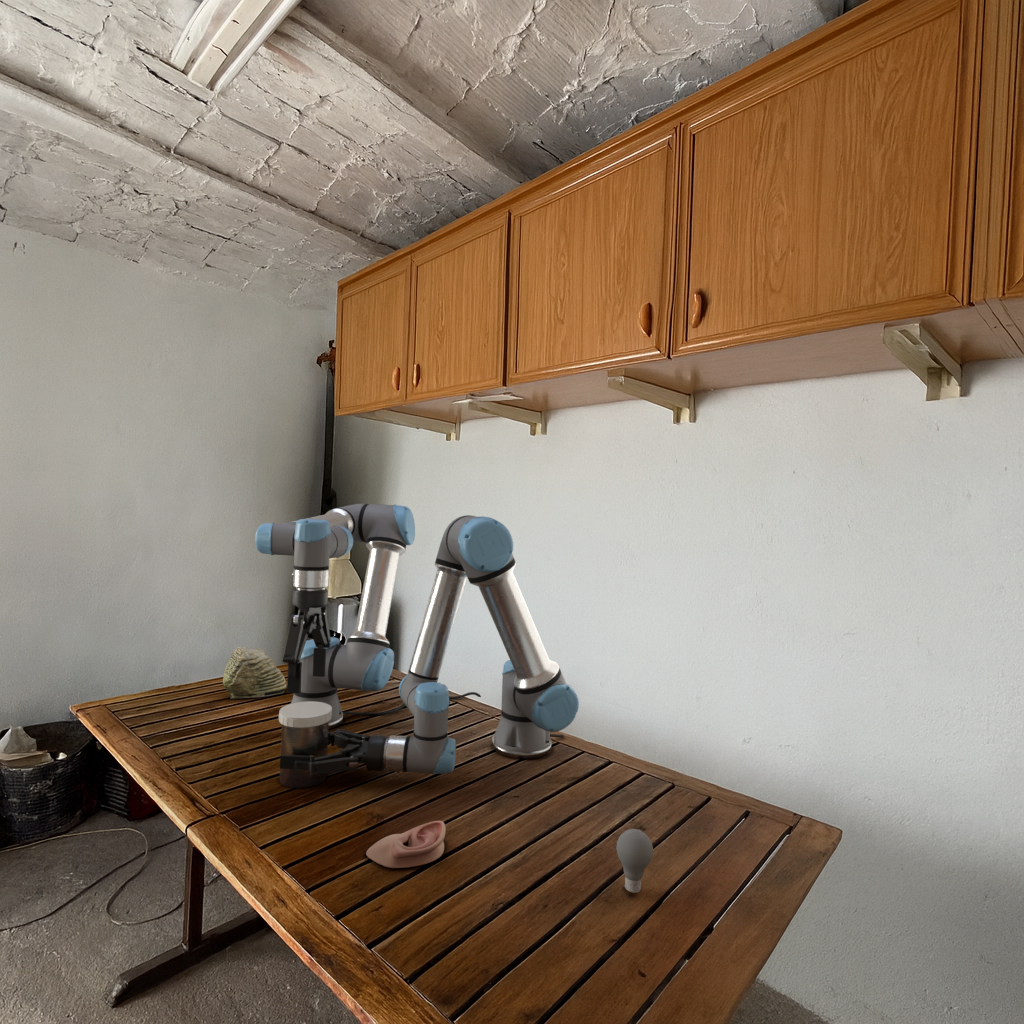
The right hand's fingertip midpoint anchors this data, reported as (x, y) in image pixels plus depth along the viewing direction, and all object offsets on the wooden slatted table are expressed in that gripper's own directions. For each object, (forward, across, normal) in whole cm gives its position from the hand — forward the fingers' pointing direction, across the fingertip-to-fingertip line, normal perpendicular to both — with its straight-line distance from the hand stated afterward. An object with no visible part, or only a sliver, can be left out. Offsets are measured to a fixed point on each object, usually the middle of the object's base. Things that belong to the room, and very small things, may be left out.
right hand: (291, 749), depth 142 cm
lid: (-3, 0, +9) cm, 9 cm away
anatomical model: (-31, -28, -6) cm, 42 cm away
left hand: (-3, 0, +15) cm, 15 cm away
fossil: (+31, +56, -6) cm, 64 cm away
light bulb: (-70, -36, -6) cm, 79 cm away
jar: (-3, 0, -6) cm, 7 cm away
